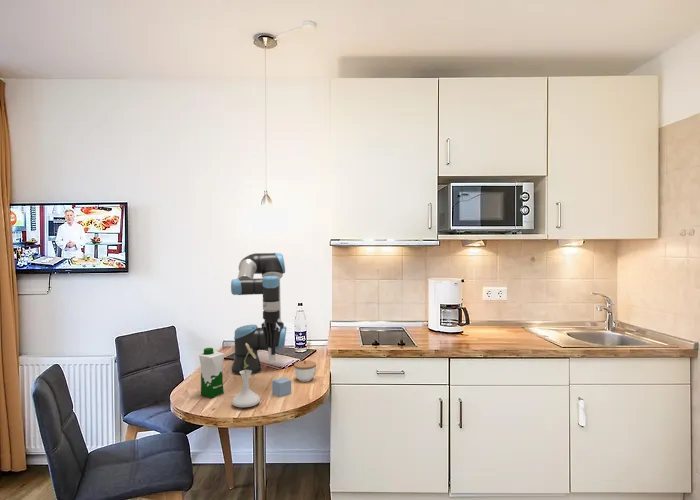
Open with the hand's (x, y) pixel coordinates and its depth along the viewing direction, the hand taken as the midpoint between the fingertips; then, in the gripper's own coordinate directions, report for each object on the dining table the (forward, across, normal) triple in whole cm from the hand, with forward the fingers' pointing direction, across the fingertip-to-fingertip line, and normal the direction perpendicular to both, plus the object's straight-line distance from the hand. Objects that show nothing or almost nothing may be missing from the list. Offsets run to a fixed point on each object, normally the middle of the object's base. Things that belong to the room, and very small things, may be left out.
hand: (271, 361), depth 189 cm
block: (+10, +5, -1) cm, 11 cm away
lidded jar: (+13, +2, +18) cm, 23 cm away
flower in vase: (+13, +7, -18) cm, 23 cm away
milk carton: (+13, -13, -22) cm, 29 cm away
